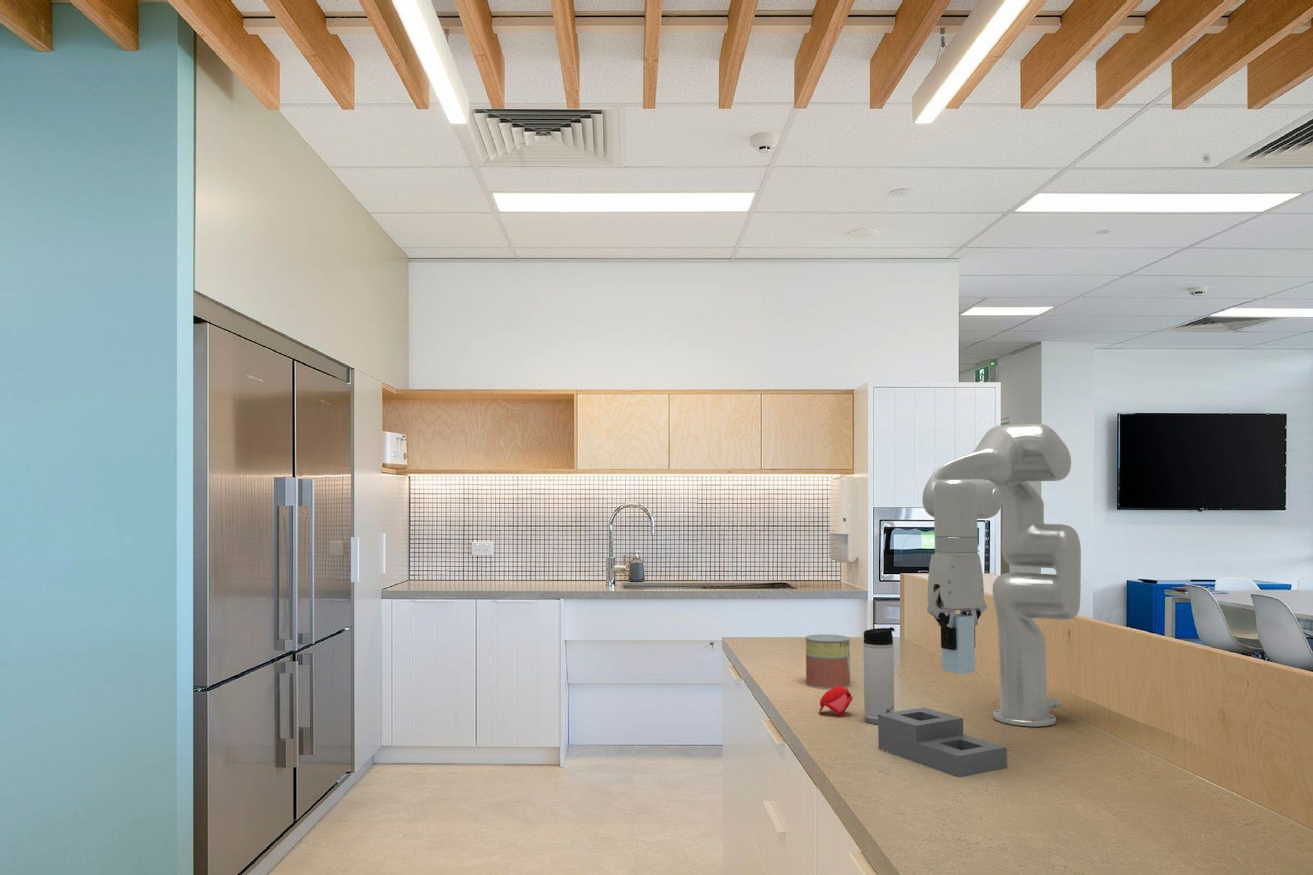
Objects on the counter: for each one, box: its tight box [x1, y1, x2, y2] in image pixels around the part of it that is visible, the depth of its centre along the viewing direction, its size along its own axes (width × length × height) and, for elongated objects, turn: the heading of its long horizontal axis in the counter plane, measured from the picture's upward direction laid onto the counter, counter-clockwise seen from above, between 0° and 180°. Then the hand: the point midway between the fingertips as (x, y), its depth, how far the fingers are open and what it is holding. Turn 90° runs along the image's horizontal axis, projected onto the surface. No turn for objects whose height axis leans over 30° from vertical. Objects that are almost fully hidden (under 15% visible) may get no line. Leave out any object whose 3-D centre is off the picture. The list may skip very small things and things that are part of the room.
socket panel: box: [877, 707, 1008, 778], centre depth 167 cm, size 12×20×6 cm, turn 28°
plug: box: [941, 613, 976, 675], centre depth 164 cm, size 4×5×10 cm
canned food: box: [805, 634, 851, 690], centre depth 233 cm, size 11×11×12 cm
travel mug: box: [862, 626, 896, 726], centre depth 195 cm, size 6×7×20 cm
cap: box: [818, 687, 853, 717], centre depth 201 cm, size 8×6×6 cm
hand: (958, 647), depth 164 cm, fingers closed on plug, 4 cm apart
